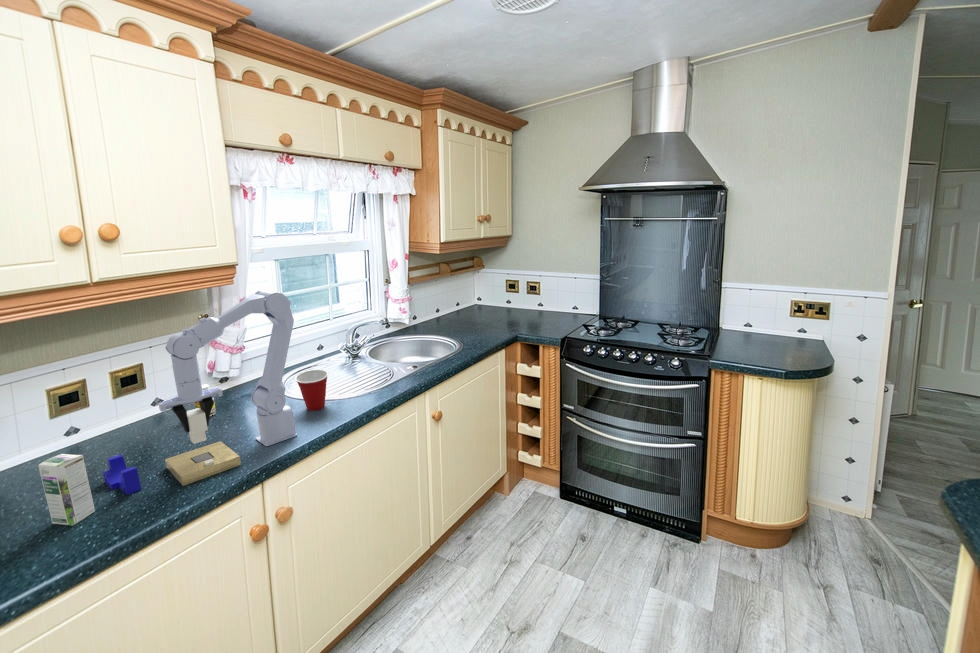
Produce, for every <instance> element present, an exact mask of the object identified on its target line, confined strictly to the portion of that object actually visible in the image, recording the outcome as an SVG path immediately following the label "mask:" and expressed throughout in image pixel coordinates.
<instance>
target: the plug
mask: <svg viewBox="0 0 980 653" xmlns="http://www.w3.org/2000/svg"><path fill="white" fill-rule="evenodd" d="M187 421H188V425H189V430H190V432H188V434H189V440H190V442H192V443H193V444H194V445H195V444H198V443H199V444H200V443H203V442H204V441H205V442H206V441H207V435H206V431H208V430H209V429H208V427H209V426H208V427H207V422H206V416H205V412H204V411H202V410H201V409H200V408H196V407H195V409H194V408H193V409H189V410H187Z"/></svg>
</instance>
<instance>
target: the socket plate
mask: <svg viewBox="0 0 980 653" xmlns="http://www.w3.org/2000/svg"><path fill="white" fill-rule="evenodd" d="M205 453H209V454H210V455H211V456H212V457H213V458H211V459H208V460H205V461H202V462H199V463H195V462H193V461H192V458H194V457H197V456H200V455H203V454H205ZM164 461H165V466H166V469H167V470H168V471H169V472H170V473H171V474H172V476H173V477H175V479H176V480H177V481H178V482H179V483H180V484H181V486H182V487H184V486H187V485H190V484H192V483H194V482H195V483H196V482H198V481H200V480H204V479H206V478H209V477H211V475H212V476H214V475H216V474H217V475H218V474H219V473H222V472H225V471H228V470H230V469H233V468H235V467H239V466H241V465H242V464H241V456H240V455H239V454H237V452H235V451H234V450H232V449H231V448H230V447H229V446H227V445H226V444H225V443H224V442H223V441H216V442H213V443H211V444H207V445H204V446H201V447H198V448H195V449H192V450H189V451H186V452H182V453H180V454H176V455H174V456H170V457H168V458H165V459H164Z"/></svg>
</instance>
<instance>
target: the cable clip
mask: <svg viewBox="0 0 980 653" xmlns="http://www.w3.org/2000/svg"><path fill="white" fill-rule="evenodd" d="M107 464H108V467H109V469H108V470H105V471H102V474H103V479H104V483H105V484H106V486H108V487H109V489H111V490H112V491H113V490H114V489H118V488H120V490H122V491H123V493H124V494H125V495H131V494H133V493H137V492H138V490H139V491H141V490H142V488H141V487H142V486H141V482H140V477H139V471H138V468H137V467H136V466H132V467H127V466H126V462H125V458H124V455H122V454H118V455H115V456H112V457H109V458H107Z"/></svg>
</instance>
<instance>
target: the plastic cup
mask: <svg viewBox="0 0 980 653" xmlns="http://www.w3.org/2000/svg"><path fill="white" fill-rule="evenodd" d="M328 376H329V372H328V371H327V370H325V369H319V368H318V369H310V370H305V371H302V372H300V373H298V374H297V375H296V376H295V377H294V380H295V382H297V384H298V387H299V389H300V393H301V396H302V398H303V401H304V405H305V408H306V410H307V411H311V412H312V411H314V412H315V411H320V410H322V409H324V408H325V405H326V393H327V381H328Z"/></svg>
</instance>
